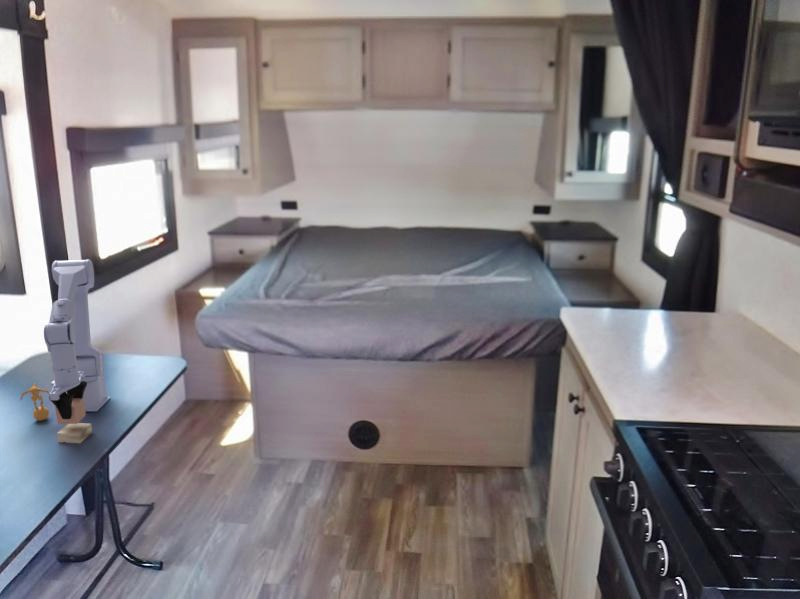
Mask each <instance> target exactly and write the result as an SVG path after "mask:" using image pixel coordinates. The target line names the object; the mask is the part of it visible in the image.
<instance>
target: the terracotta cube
mask: <svg viewBox="0 0 800 599" xmlns="http://www.w3.org/2000/svg"><path fill="white" fill-rule="evenodd" d="M54 408H55V415H56V420H57V425H60V424H61V425H68V424H77V423H80V421H82V420H83V419H84V417H86V416H87V413H86V411H85V406H84V399H83V398H73V400H72V416H71V419H62V417H61V415H60V413H59V411H58V409H57V408H56V406H55V405H54Z"/></svg>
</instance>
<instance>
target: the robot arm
mask: <svg viewBox="0 0 800 599" xmlns="http://www.w3.org/2000/svg"><path fill="white" fill-rule="evenodd" d="M51 275H52V280H53V281H54V282H55V284H56V285H58V292H57V300H54V301H53V303H52V307H51V311H50V316H49V320H48V324H47V325H45V326H44V328H43V339H44V343H45V345H46V347H47V352H48V353H49V354H50V361H51V365H52V373H53V381H51V382H50V385H51V386H52V389H51V391H50V393H49V394H48V399H49V401H50V402H51V403H52V404H53V406H54V407H55V406H56V408H57V409H58V411H59V413H60V415H61V417H62V419H71V416H72V400H73V398H83V399H84V406H85V412H98V411H99V410H100V409H101V408H102V407H103V406H104V405H105V404H106V403H107V402H108V401H109V400H110V399H111V396H108V392H107V385H106V379H105V377H104V375H103V374H104V370H105V364H104V358H103V352H102V351H101V349H99V348H97V347H96V346H94V345H92V342H91V340H92V339H91V327H90V326H91V324H90V313H89V312H90V311H89V310H90V309H89V300H88V299H89V298H88V295H89V290H90V289H92V288H94V287H95V270H94V264H93V262H92V260H91V259H89V258H87V259H79V260H78V259H75V260H54V261H53V262H52V264H51Z"/></svg>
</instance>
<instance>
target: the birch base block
mask: <svg viewBox="0 0 800 599" xmlns="http://www.w3.org/2000/svg"><path fill="white" fill-rule="evenodd" d="M92 433H93V428H92V423H87V422H86V423H85V422H78V423H77V424H65V426H64V427H63V428H61V429H60V430H59V431H57V432H56V436H57V442H58V443H63V442H66V443H67V444H82V443H83V441H85V439H87V438H88V437H89V436H90V435H92Z"/></svg>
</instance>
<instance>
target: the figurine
mask: <svg viewBox="0 0 800 599" xmlns="http://www.w3.org/2000/svg"><path fill="white" fill-rule="evenodd" d="M40 392H42V393H47V394H48V395H49V393H50V392H51V391H50V392H49V390H47V389H42V388H39V387H38V385H37V384H36V383H32V386H31V388H29V389H27V390H25V391H24V392H22V393H21V396H20V398H19V399H20V400H19V401H20V402H22V401H23V397H24V395H26V394H29V393H30V394H31V395H32V396H30V398H31V401H33V405H34V407H35V409H34V410H33V411H32V417H33V418H34V419H35V420H36V421H40V422H42V421H45V420H46V419H48V417H49V416H50V411H49V409H48V408H47V407H46V406H43V404H44V402H43V401H44V398H43V395H41V394H40ZM37 400H38V401H40V403H39V404H40V405H39V406H38V405H37V404H38V403H37Z"/></svg>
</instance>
